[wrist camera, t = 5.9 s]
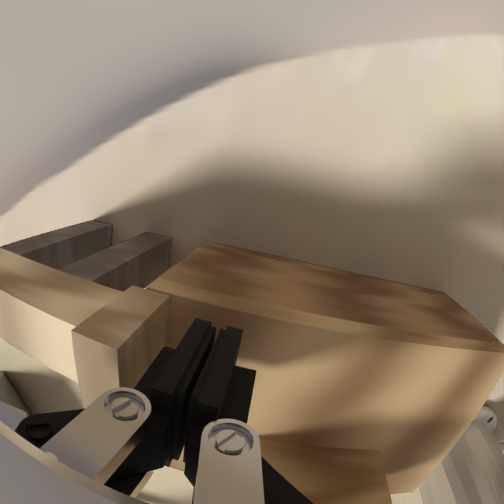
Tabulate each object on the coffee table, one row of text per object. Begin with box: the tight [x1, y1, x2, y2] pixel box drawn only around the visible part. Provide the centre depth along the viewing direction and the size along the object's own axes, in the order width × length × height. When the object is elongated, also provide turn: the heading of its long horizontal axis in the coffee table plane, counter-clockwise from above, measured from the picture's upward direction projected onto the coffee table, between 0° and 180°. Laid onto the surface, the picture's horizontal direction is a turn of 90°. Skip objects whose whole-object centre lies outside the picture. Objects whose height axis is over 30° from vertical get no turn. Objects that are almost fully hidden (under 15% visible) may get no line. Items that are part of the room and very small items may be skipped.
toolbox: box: [0, 220, 501, 343], centre depth 17 cm, size 28×12×10 cm, turn 79°
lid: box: [146, 278, 504, 504], centre depth 10 cm, size 18×12×8 cm, turn 79°
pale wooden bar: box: [0, 248, 170, 408], centre depth 10 cm, size 11×3×4 cm, turn 79°
